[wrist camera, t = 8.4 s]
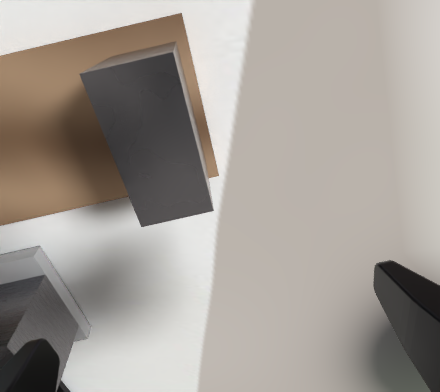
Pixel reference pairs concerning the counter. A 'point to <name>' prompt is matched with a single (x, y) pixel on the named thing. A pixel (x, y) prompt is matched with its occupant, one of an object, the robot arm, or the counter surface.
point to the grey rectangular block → (36, 306)
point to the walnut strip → (67, 123)
